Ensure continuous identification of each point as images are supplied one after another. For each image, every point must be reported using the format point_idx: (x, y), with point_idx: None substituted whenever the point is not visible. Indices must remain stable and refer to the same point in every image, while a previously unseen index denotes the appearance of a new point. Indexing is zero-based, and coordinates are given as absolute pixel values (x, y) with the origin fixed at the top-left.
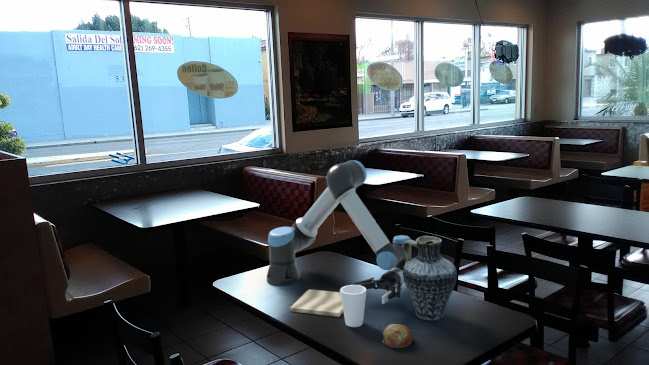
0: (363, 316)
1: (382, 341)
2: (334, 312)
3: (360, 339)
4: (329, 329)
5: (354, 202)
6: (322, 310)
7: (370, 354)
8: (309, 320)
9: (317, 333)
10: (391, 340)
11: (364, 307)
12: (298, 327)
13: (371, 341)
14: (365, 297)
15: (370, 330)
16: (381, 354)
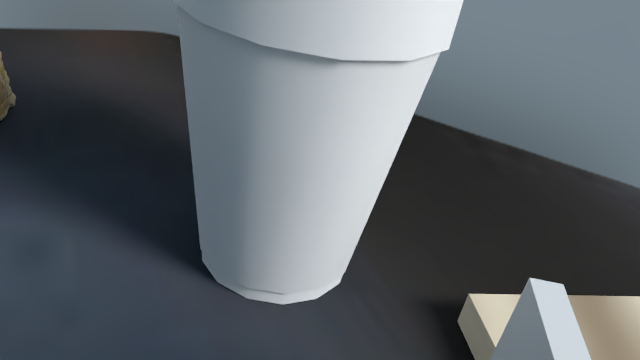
0: (196, 202)
1: (15, 97)
2: (512, 295)
3: (161, 115)
4: (390, 171)
5: None
6: (631, 307)
7: (82, 46)
8: (592, 237)
9: (421, 138)
10: None
11: (188, 121)
12: (560, 170)
13: (89, 106)
14: (178, 10)
15: (113, 188)
16: (25, 45)
